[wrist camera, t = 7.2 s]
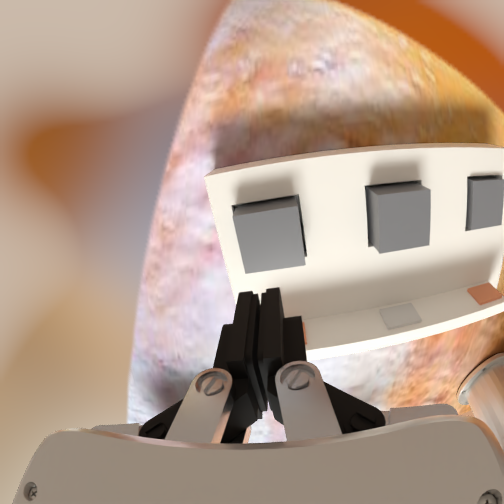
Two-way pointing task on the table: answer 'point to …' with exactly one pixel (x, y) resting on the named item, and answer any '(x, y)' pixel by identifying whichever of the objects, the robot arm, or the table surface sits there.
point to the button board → (370, 244)
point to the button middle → (398, 216)
